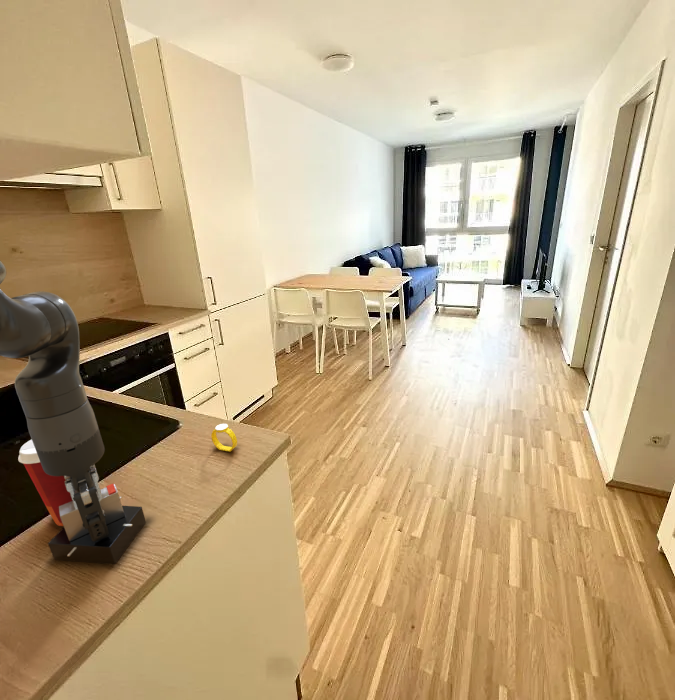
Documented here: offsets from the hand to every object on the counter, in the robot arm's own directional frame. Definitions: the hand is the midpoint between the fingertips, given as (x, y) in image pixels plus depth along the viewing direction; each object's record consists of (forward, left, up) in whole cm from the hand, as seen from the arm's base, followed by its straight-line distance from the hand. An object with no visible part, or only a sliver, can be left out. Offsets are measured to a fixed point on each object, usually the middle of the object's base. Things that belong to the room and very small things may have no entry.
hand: (96, 521), depth 57 cm
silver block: (0, 0, 0) cm, 0 cm away
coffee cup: (-9, +5, -4) cm, 11 cm away
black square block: (0, 0, -4) cm, 4 cm away
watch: (+11, +25, -4) cm, 28 cm away
